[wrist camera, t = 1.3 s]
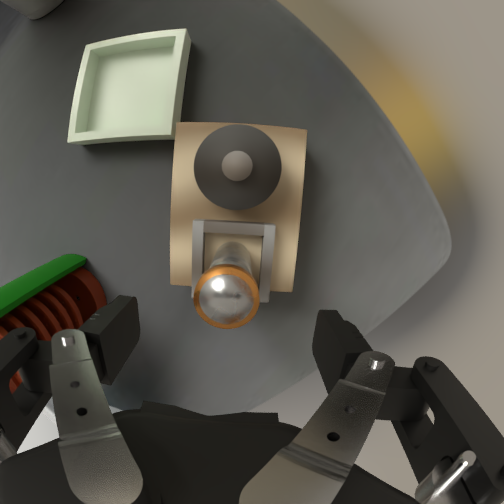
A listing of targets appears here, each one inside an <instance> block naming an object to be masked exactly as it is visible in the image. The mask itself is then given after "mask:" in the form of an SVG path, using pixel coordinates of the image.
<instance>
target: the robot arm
mask: <svg viewBox="0 0 504 504" xmlns="http://www.w3.org/2000/svg"><path fill="white" fill-rule="evenodd" d="M0 1H1V2H3V3H5V4H7V5H8V6H10V7H12V8H13V9H15V10H17V11H18V12H20V13H21V14H23V15H25V16H26V17H28V18H30V19H33V20H34V19H38V18H41V17H43V16H45V15H46V14H48V13H49V12H51V11H52V10H53V9H55V8H56V7H57V6H58V5H59V4H60V3H62V2H63V1H64V0H0ZM139 337H140V324H139V314H138V303H137V299H136V297H131V296H122V295H119V296H118V297H117V298H116V299H115V300H114V301H113V302H112V303H111V304H108V305H106V306H103V307H101V308H99V309H98V310H97V311H96V312H95V313H94V314H93V315H92V316H91V317H90V319H88V320H87V321H86V322H85V323H84V324H83V325H81V326H80V327H79V328H78V329H77V330H76V329H66V330H62V331H59V332H57V333H56V334H54V335H53V337H52V339H51V341H43V340H37V337H36V333H35V331H34V330H33V329H32V328H29V327H20V328H16V329H14V330H12V331H10V332H9V333H8V334H7V335H6V336H4V337H3V338H2V339H1V340H0V504H501V503H502V502H503V501H504V437H503V436H502V435H501V433H500V432H499V431H498V429H497V428H496V427H495V425H494V424H493V423H492V421H491V420H490V419H489V417H488V416H487V415H486V414H485V412H484V411H483V410H482V409H481V407H480V406H479V405H478V403H477V402H476V401H475V400H474V398H473V397H472V396H471V395H470V394H469V392H468V391H467V390H466V389H465V387H464V386H463V385H462V384H461V383H460V381H459V380H458V379H457V378H456V377H455V376H454V374H453V373H452V372H451V371H450V370H449V369H448V367H447V366H446V365H445V364H444V363H443V362H442V361H440V360H438V359H436V358H433V357H426V356H425V357H420V358H418V359H417V360H416V361H415V363H414V366H413V368H406V367H397V366H395V362H394V360H393V359H392V358H391V357H390V356H388V355H387V354H384V353H381V352H378V351H373V350H372V349H371V347H370V345H369V344H368V343H367V341H366V340H365V339H364V338H363V336H362V334H361V333H360V332H359V330H358V329H357V328H356V326H355V325H353V324H352V323H350V322H349V321H344V320H343V319H342V317H341V316H340V314H339V313H338V311H337V310H319V312H318V316H317V321H316V327H315V332H314V337H313V343H312V350H313V355H314V358H315V361H316V363H317V366H318V368H319V371H320V374H321V376H322V379H323V382H324V384H325V387H326V390H327V393H328V396H327V397H326V399H325V400H324V402H323V403H322V404H321V406H320V407H319V408H318V410H317V411H316V412H315V413H314V415H313V416H312V417H311V419H310V420H309V421H308V422H307V424H306V425H305V426H304V427H303V429H301V428H298V427H296V426H293V425H290V424H286V423H281V422H279V420H278V413H254V412H253V413H252V412H241V413H234V414H225V415H215V416H206V415H202V414H199V413H196V412H192V411H189V410H186V409H183V408H180V407H177V406H173V405H166V404H160V403H154V402H148V401H143V404H142V406H141V409H134V410H125V411H120V412H116V413H113V414H112V413H111V410H110V408H109V405H108V403H107V400H106V398H105V395H104V392H103V390H102V387H101V384H100V383H103V384H107V385H112V383H113V381H114V380H115V378H116V376H117V375H118V373H119V371H120V370H121V368H122V366H123V365H124V363H125V362H126V360H127V358H128V357H129V355H130V354H131V352H132V350H133V349H134V347H135V346H136V344H137V342H138V340H139ZM17 371H18V372H19V374H20V377H21V379H22V383H21V384H20V385H19V386H18V388H17V389H16V390H15V391H14V392H13V394H12V393H11V391H10V388H9V383H10V379H11V378H12V376H13V375H14V374H15V373H16V372H17ZM51 397H53V404H54V411H55V417H56V422H57V427H58V431H59V438H57V439H55V440H52V441H50V442H48V443H45V444H43V445H40V446H38V447H35V448H32V449H30V450H27V451H25V452H22V453H19V454H17V451H18V449H19V447H20V445H21V444H22V442H23V440H24V439H25V437H26V435H27V434H28V432H29V430H30V429H31V427H32V426H33V424H34V423H35V421H36V419H37V418H38V416H39V415H40V413H41V412H42V410H43V409H44V407H45V406H46V404H47V403H48V401H49V400H50V398H51ZM429 407H430V408H431V410H432V411H433V413H434V417H435V420H434V425H433V423H432V422H431V420H430V418H429V417H428V415H427V411H428V409H429ZM375 419H379V420H391V422H392V424H393V426H394V429H395V431H396V433H397V435H398V437H399V439H400V442H401V444H402V446H403V449H404V450H405V453H406V455H407V457H408V460H409V462H410V464H411V467H412V469H413V471H414V474H415V476H416V479H417V481H418V483H419V485H418V486H417V488H416V491H415V499H414V498H412V497H411V496H409V495H407V494H405V493H403V492H402V491H400V490H398V489H396V488H394V487H392V486H391V485H389V484H387V483H385V482H384V481H382V480H380V479H379V478H377V477H375V476H374V475H372V474H370V473H368V472H367V471H365V470H364V469H362V468H361V467H359V466H357V465H356V464H354V462H355V461H356V458H357V456H358V455H359V453H360V451H361V449H362V447H363V445H364V443H365V441H366V439H367V436H368V434H369V432H370V430H371V428H372V425H373V423H374V421H375Z"/></svg>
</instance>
